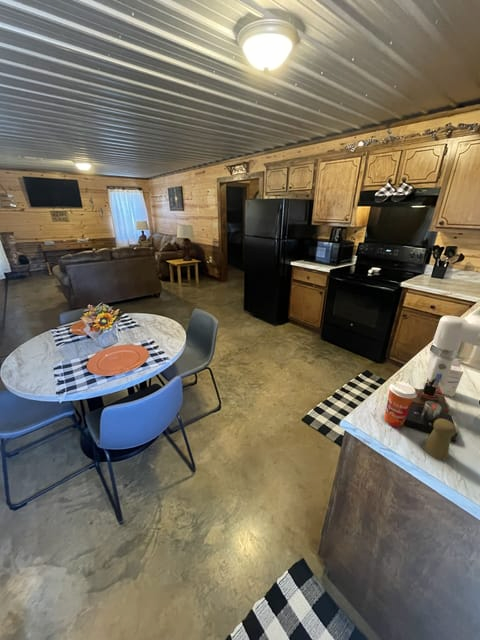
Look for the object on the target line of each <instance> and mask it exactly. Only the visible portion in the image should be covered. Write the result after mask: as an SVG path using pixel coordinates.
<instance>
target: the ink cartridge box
mask: <svg viewBox="0 0 480 640" xmlns="http://www.w3.org/2000/svg"><path fill="white" fill-rule="evenodd" d="M462 362H463V359H462V358H457V357H456V358H455V359H453V360H452V365H451V369H450V373H449V376H448V379H447V382H446V385H442V383H441V380H440V381H439V384H438V387H437V388H436V391H435V393H436V394H440V395H444V396H450V397H454V396H455V394H456V391H457V389H458V386H459V384H460V381H461V379H462V376H463V374H464V370H463V368H462V367H461V364H462Z"/></svg>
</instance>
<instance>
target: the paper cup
mask: <svg viewBox="0 0 480 640" xmlns="http://www.w3.org/2000/svg"><path fill="white" fill-rule="evenodd" d="M414 388H415V387H414V386H412V385H411V384H409V383H407V382H405V381H404V382H403V381H394V382H393V383H392V384H389V392H388V397H387V402H386V406H385V413H384V421H385V422H386V423H387V424H388V425H389V426H392V427H395V428H400V427H402V426H404V420H405V418H406V416H407V413H408V411H409V409H410V406H411V404H412V402H413V399H414V398H416V396H417V394H416V392H415V389H414Z"/></svg>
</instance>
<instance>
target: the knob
mask: <svg viewBox="0 0 480 640" xmlns="http://www.w3.org/2000/svg"><path fill="white" fill-rule="evenodd" d="M440 411H441V406H440V405H439V404H437V403H435V402H433V401H426V402H425V405H424V408H423V411H422V414H421V415H422V417H423V418H425V419H426V420H428V421H431V422H434V421H435V420H437V419H438V416H439V414H440Z"/></svg>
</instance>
